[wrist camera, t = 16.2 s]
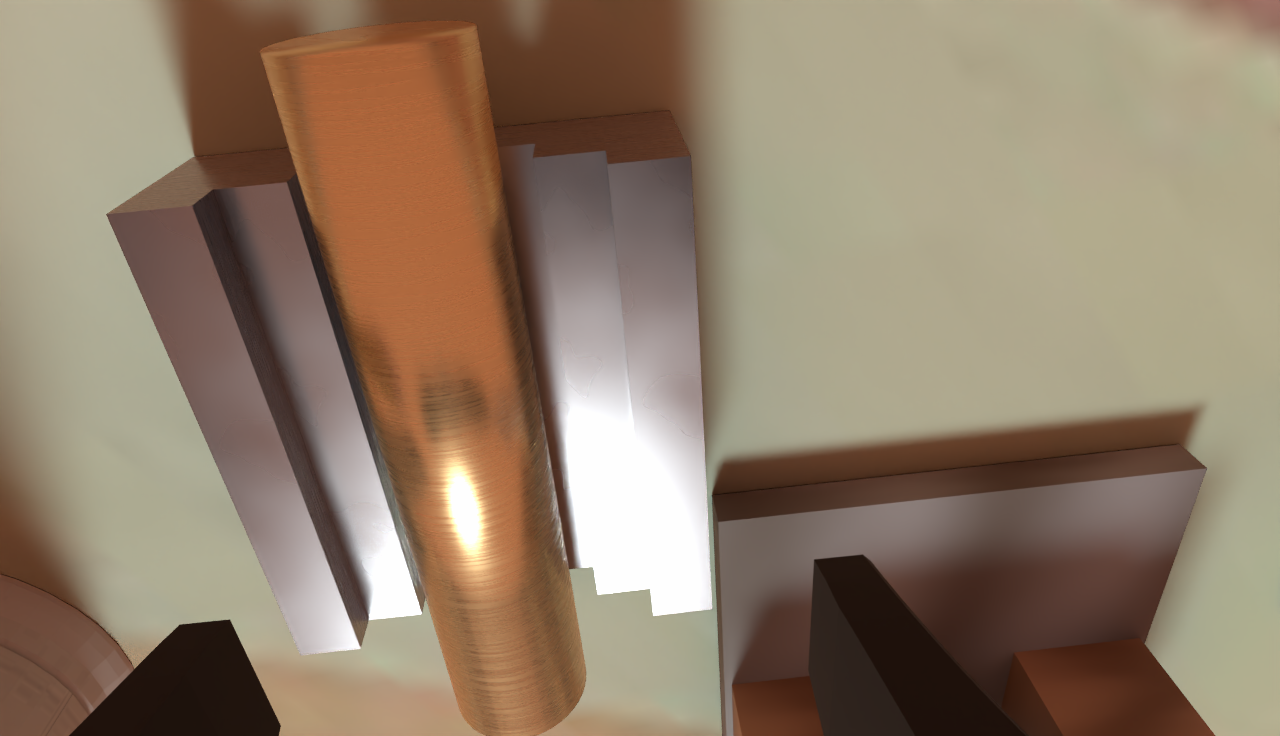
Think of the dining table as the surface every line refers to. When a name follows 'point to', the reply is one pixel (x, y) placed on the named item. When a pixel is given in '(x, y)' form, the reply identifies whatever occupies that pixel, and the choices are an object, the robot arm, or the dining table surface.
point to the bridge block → (971, 585)
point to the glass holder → (51, 663)
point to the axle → (440, 346)
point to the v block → (335, 403)
